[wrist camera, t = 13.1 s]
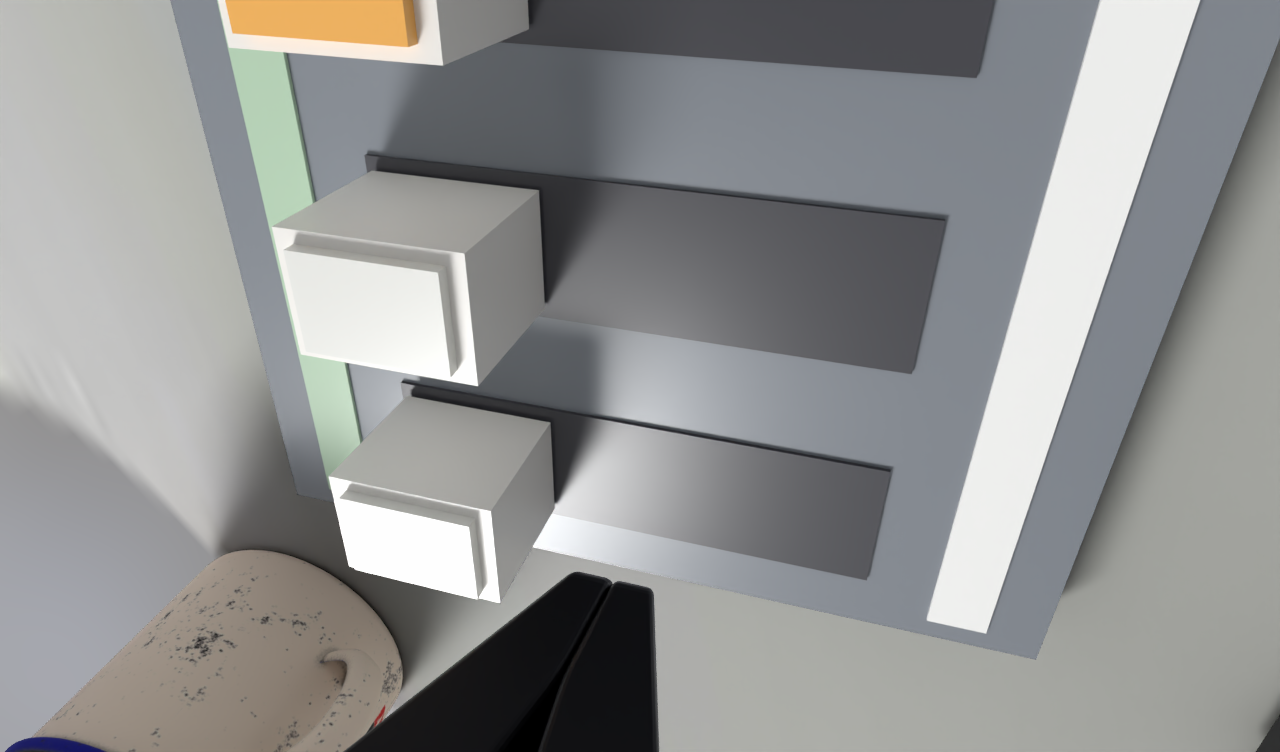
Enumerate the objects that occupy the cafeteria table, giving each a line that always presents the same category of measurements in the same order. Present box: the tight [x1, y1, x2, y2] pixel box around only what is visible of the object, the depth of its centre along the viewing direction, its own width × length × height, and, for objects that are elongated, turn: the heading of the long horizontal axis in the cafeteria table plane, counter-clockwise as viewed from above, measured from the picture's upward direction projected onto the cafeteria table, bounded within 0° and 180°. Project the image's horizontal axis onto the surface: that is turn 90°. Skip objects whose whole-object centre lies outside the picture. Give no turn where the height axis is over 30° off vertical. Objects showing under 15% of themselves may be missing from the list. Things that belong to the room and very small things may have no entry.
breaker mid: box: [272, 171, 545, 386], centre depth 17 cm, size 4×3×4 cm
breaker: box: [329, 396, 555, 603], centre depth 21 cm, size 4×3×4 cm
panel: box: [171, 0, 1280, 660], centre depth 19 cm, size 21×18×2 cm
